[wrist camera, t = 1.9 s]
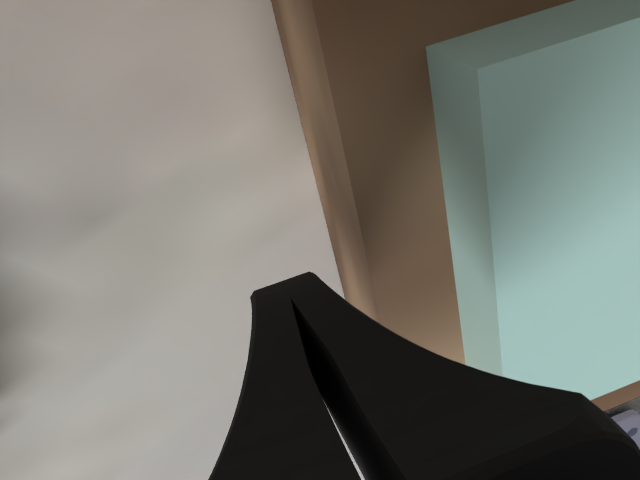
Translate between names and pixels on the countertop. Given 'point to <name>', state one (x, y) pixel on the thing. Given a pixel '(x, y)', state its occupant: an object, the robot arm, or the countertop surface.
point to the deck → (387, 152)
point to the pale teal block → (545, 193)
